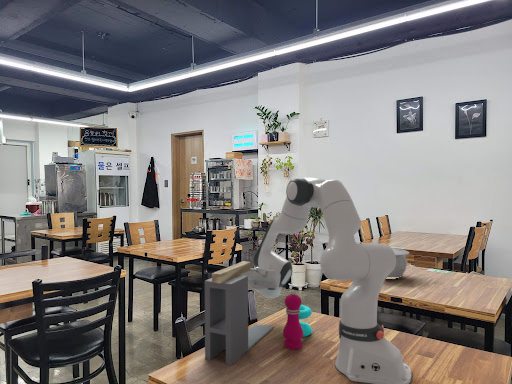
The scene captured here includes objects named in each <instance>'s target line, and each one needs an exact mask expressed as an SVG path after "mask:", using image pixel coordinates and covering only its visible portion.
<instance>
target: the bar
mask: <svg viewBox="0 0 512 384" xmlns="http://www.w3.org/2000/svg"><path fill="white" fill-rule="evenodd" d="M251 262H252V261H247V260H246V261H245V260H243V261H240V262H238V263H235V264H232V265H231V266H228V267H225V268H222V269H220V270H217V271H214V272H212V273H211V278H212V283H219V284H220V283H222V282H225V281H227V280H229V279H231V278H234V277H236V276H238V275H240V274H242V273H245V272H247V271H249V270H251V268H252V265H251V264H252V263H251Z"/></svg>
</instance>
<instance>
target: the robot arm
mask: <svg viewBox="0 0 512 384" xmlns="http://www.w3.org/2000/svg"><path fill="white" fill-rule="evenodd" d="M311 208H315V209H318V208H319V209H320V210H321V214H322V217H323V219H324V223H325V225H326V229H327V233H328V243H327V246H326V248H324V250H322V253H321V255H320V259H319V266H320V269H321V272H322V273H323V275H324V276H325V277H326V278H327V279H329V280H332V281H341V282H345V281H346V282H347V281H352V282H351V284H350V286H349V287H348V288H347V289H346V290H345V291H344V292H343V293H342V295H341V297H340V320H338V321H339V322H338V338H339V343H338V344H339V345H338V353H337V357H336V360H335V367H336V369H337V370H338V371H339V372H340V373H342V374H344V375H345V376H346V377H347V378H348V379H349V381H351V382H359V383H365V384H410V383H411V381H412V376H413V375H412V370H411V367H410V366H409V365H408V364H407V363H405V362H404V359H403V355H402V352H401V351H400V349H399V348H398V347H396V346H395V345H394V344H393V343H392V342H390V341H389V340H388V339H387V338H386V337H385V330H384V329H385V328H384V324H382V325H381V324H380V323H378V300H379V296H380V292H381V290H382V287H383V285H384V283H385V281H386V280H385V279H386V278H387V276H388V275H389V274H390V273H391V272H392V271H393V270H394V268H395V266H396V256H395V253H394V251H393V250H392V248H393V247H391V246H389V245H388V244H384V243H381V242H380V243H379V242H378V243H377V242H363V243H357V242H356V239H355V235H356V234H357V233H358V232H359V230H360V228H361V225H362V220H361V218H360V215H359V213H358V210H357V209H356V206H355V204H354V202H353V198H352V197H351V195H350V193H349V192H348V190H347V188H346V187H345V186H344V184H343V183H342V182H341V181H340V180H338V179H335V178H333V179H324V178H323V179H322V178H317V177H303V176H299V177H293V178H292V179H290V181H289V182H288V184H287V186H286V197H285V200H284V202H283V205H282V209H281V211H280V214H279V215H278V216H275V217H273V219H272V220H271V221H270V223H269V225H268V227H267V228H266V231H265V232H264V235H263V238H262V240H261V242H260V244H259V246H258V248H257V249H256V251H255V252H254V254H253V257H252V262H253V266H254V268H252V267H251V270H249V271H247V272H245V273H242V274H240V275H244V276H248V285H249V286H250V287H251V288H252V289H253V290H255V292H258V293H259V294H260V295H261V296H263V297H265V298H266V299H275V298H276V299H277V297H279V296H280V295H281V293H282V289H283V287H284V286H285V285H286V284H287V283H288V282H289V281H290V279H291V278H292V275H293V264H292V262H291V261H289V260H287V259H286V258H285V257H283V256H281V255H279V254H278V253H276V252H274V250H273V246H274V244H275V242H276V239H277V237H278V235H279V234H283V235H293V234H294V235H295V234H298V233H300V232H302V231H303V230H304V229H305V228H306V224H307V222H308V219H309V215H310V212H311Z"/></svg>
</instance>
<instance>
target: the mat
mask: <svg viewBox="0 0 512 384" xmlns="http://www.w3.org/2000/svg"><path fill="white" fill-rule="evenodd" d="M273 329H274V326H270V325H265V324H264V325H263V324H259V323H254V324H253V325H252V326H250V327H248V351H249V350H250V349H251V348H253V347H254V346H255V345H256V344H257V343H258V342H260V340H262V339H263V338H264V337H265V336H267V334H268V333H270V332H271V331H272V330H273Z"/></svg>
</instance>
